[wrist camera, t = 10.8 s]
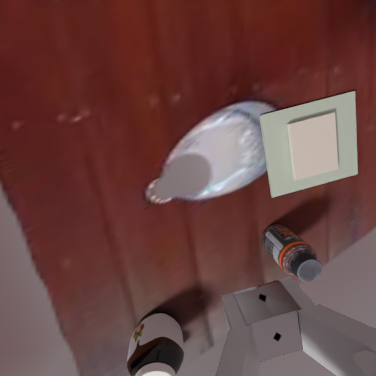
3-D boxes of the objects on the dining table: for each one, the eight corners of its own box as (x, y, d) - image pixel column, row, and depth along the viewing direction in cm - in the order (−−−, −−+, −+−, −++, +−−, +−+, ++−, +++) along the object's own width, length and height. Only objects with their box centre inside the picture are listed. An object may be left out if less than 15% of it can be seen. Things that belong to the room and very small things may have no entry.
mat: (259, 115, 38) (260, 115, 38) (352, 91, 39) (355, 90, 38) (271, 196, 42) (272, 197, 42) (355, 173, 43) (357, 174, 43)
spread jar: (162, 300, 46) (162, 356, 35) (197, 331, 49) (207, 392, 38) (119, 335, 47) (105, 400, 36) (155, 363, 50) (153, 431, 39)
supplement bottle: (291, 223, 44) (333, 254, 34) (285, 250, 46) (323, 288, 35) (263, 221, 44) (296, 253, 33) (257, 249, 45) (288, 288, 34)
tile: (289, 124, 37) (335, 112, 38) (286, 124, 39) (329, 112, 39) (296, 180, 40) (338, 168, 41) (292, 178, 41) (333, 167, 42)
